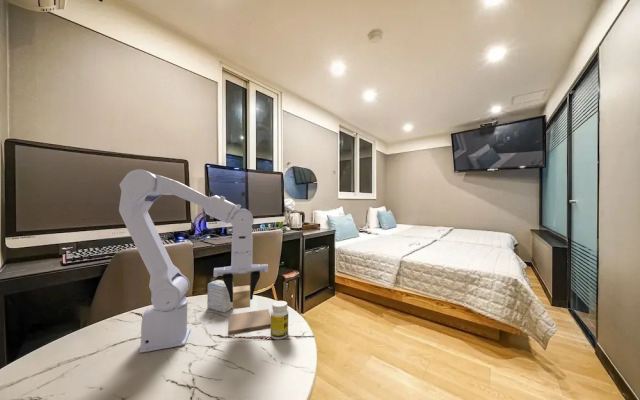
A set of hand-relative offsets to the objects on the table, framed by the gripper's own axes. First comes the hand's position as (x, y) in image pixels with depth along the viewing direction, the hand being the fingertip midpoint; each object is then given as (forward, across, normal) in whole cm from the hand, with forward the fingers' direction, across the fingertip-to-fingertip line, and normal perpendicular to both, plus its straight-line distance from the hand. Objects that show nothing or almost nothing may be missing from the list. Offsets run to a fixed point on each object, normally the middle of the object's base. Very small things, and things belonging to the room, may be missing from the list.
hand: (241, 299), depth 64 cm
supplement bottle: (+9, +10, -6) cm, 14 cm away
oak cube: (+1, 0, 0) cm, 1 cm away
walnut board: (+8, +3, +4) cm, 10 cm away
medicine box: (+9, -6, +17) cm, 20 cm away
